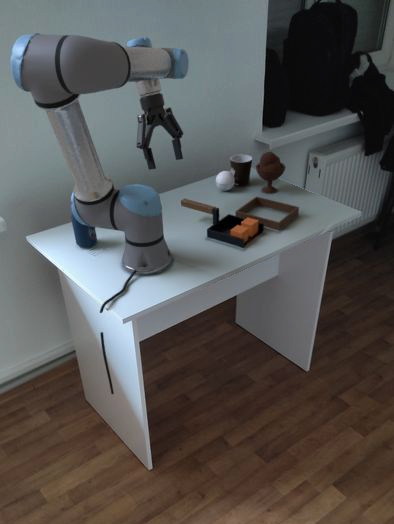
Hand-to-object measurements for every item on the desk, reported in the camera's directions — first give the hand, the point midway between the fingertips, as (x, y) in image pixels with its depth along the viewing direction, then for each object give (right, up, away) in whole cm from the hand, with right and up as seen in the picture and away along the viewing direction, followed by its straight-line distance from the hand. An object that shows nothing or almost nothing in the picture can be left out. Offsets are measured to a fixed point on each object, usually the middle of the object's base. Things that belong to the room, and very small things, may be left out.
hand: (166, 164), depth 169 cm
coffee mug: (+28, +5, +34) cm, 44 cm away
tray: (+35, -16, +9) cm, 39 cm away
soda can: (-26, -27, -1) cm, 38 cm away
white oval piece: (+22, 0, +28) cm, 36 cm away
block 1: (+24, -27, -4) cm, 36 cm away
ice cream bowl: (+38, -1, +27) cm, 47 cm away
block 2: (+28, -23, 0) cm, 36 cm away
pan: (+17, -22, +3) cm, 28 cm away
